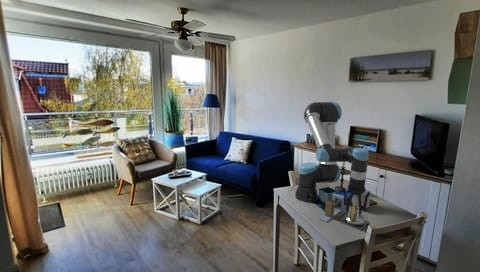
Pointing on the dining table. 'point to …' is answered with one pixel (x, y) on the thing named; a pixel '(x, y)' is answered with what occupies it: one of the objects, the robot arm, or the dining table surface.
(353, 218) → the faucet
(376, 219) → the dining table surface
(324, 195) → the flower pot
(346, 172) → the candlestick
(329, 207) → the post in wooden base
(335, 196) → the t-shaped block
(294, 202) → the dining table surface
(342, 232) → the dining table surface
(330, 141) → the robot arm
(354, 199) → the teacup
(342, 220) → the wheel stand
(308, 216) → the dining table surface
